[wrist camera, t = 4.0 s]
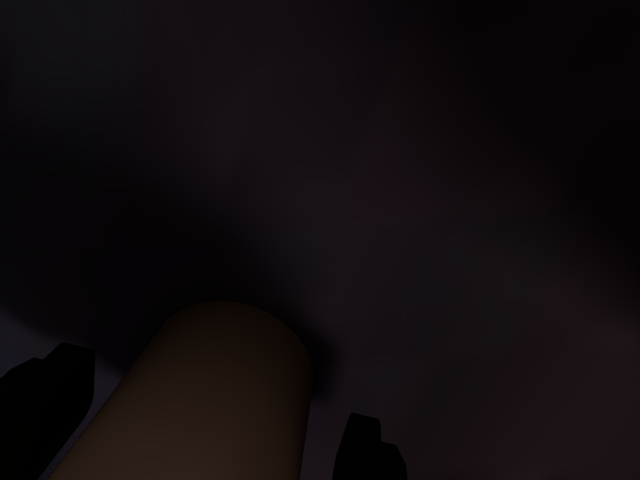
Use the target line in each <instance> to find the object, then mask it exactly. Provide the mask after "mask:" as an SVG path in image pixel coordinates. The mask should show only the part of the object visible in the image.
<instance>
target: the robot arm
mask: <svg viewBox="0 0 640 480" xmlns="http://www.w3.org/2000/svg"><path fill="white" fill-rule="evenodd" d="M94 370H95V352H94V350H92V349H89V348H84V347H80V346H76V345H72V344H68V343H61V344H60V345H58V346H57V347H56V348H55V349H54V350H53V351H52V352H51V353H50V354H49V355H48V356H47V357H45V358H44V359H43V360H42V359H38V358H32V359H30V360H28V361H26V362H24V363H22V364H20V365H18V366H16V367H14V368H12V369H11V370H10V371H8V372H7V373H6V374H5V375H4V376H3V377H2V378H1V379H0V480H38V478H39V477H40V476H41V474H42V473H43V472H44V470H45V469H46V468H47V466H48V465H49V464H50V462H51V461H52V460H53V459H54V457H55V456H56V455H57V453H58V452H59V451H60V449H61V448H62V447H63V445H64V444H65V443H66V442H67V440H68V439H69V438H70V436H71V435H72V434H73V432H74V431H75V430H76V428H77V427H78V426H79V424H80V423H81V422H82V421H83V419H84V418H85V416H86V414H87V413H88V411H89V408H90V406H91V403H92V400H93V395H94ZM332 480H407V471H406V464H405V462H404V460H403V458H402V456H401V454H400V452H399V450H398V448H397V447H396V445H393V444H389V443H384V442H381V428H380V420H379V419H376V418H372V417H368V416H364V415H360V414H355V413H351V414H350V416H349V419H348V422H347V425H346V428H345V431H344V434H343V437H342V440H341V443H340V446H339V449H338V452H337V455H336V459H335V464H334V470H333V477H332Z"/></svg>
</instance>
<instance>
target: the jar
mask: <svg viewBox="0 0 640 480" xmlns="http://www.w3.org/2000/svg"><path fill="white" fill-rule="evenodd" d="M313 376H314V375H313V368H312V363H311V360H310V357H309V355H308V352H307V350H306V348H305V347H304V345H303V343H302V342H301V340H300V339H299V338H298V337H297V335H296V334H295V333H294V332H293V331H292V330H291V329H290V328H289V327H288V326H287V325H286V324H284V323H283V322H282V321H280V320H279V319H278V318H276V317H275V316H273V315H271V314H269V313H268V312H266V311H263V310H261V309H259V308H256V307H253V306H250V305H247V304H243V303H238V302H232V301H209V302H203V303H198V304H195V305H191V306H188V307H186V308H184V309H182V310H180V311H178V312H177V313H175V314H174V315H172V316H171V317H170V318H169V319H168V320H167V321H165V322H164V324H163V325H162V326H161V327H160V329H159V330H158V331H157V333H156V334H155V335H154V337H153V338H152V339H151V341H150V342H149V343H148V345H147V346H146V347H145V349H144V350H143V352H142V353H141V354H140V356H139V357H138V358H137V360H136V361H135V362H134V364H133V365H132V366H131V368H130V369H129V370H128V372H127V373H126V375H125V376H124V377H123V379H122V380H121V381H120V383H119V384H118V385H117V387H116V388H115V389H114V391H113V392H112V394H111V395H110V396H109V398H108V399H107V400H106V402H105V403H104V404H103V406H102V407H101V408H100V410H99V411H98V412H97V414H96V415H95V417H94V418H93V419H92V421H91V422H90V423H89V425H88V426H87V427H86V429H85V430H84V431H83V433H82V434H81V435H80V437H79V438H78V440H77V441H76V442H75V444H74V445H73V446H72V448H71V449H70V450H69V452H68V453H67V454H66V456H65V457H64V458H63V460H62V461H61V463H60V464H59V465H58V467H57V468H56V469H55V471H54V472H53V473H52V475H51V476H50V477H49V479H48V480H300V474H301V467H302V460H303V453H304V446H305V439H306V432H307V425H308V417H309V410H310V403H311V396H312V389H313Z"/></svg>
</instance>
